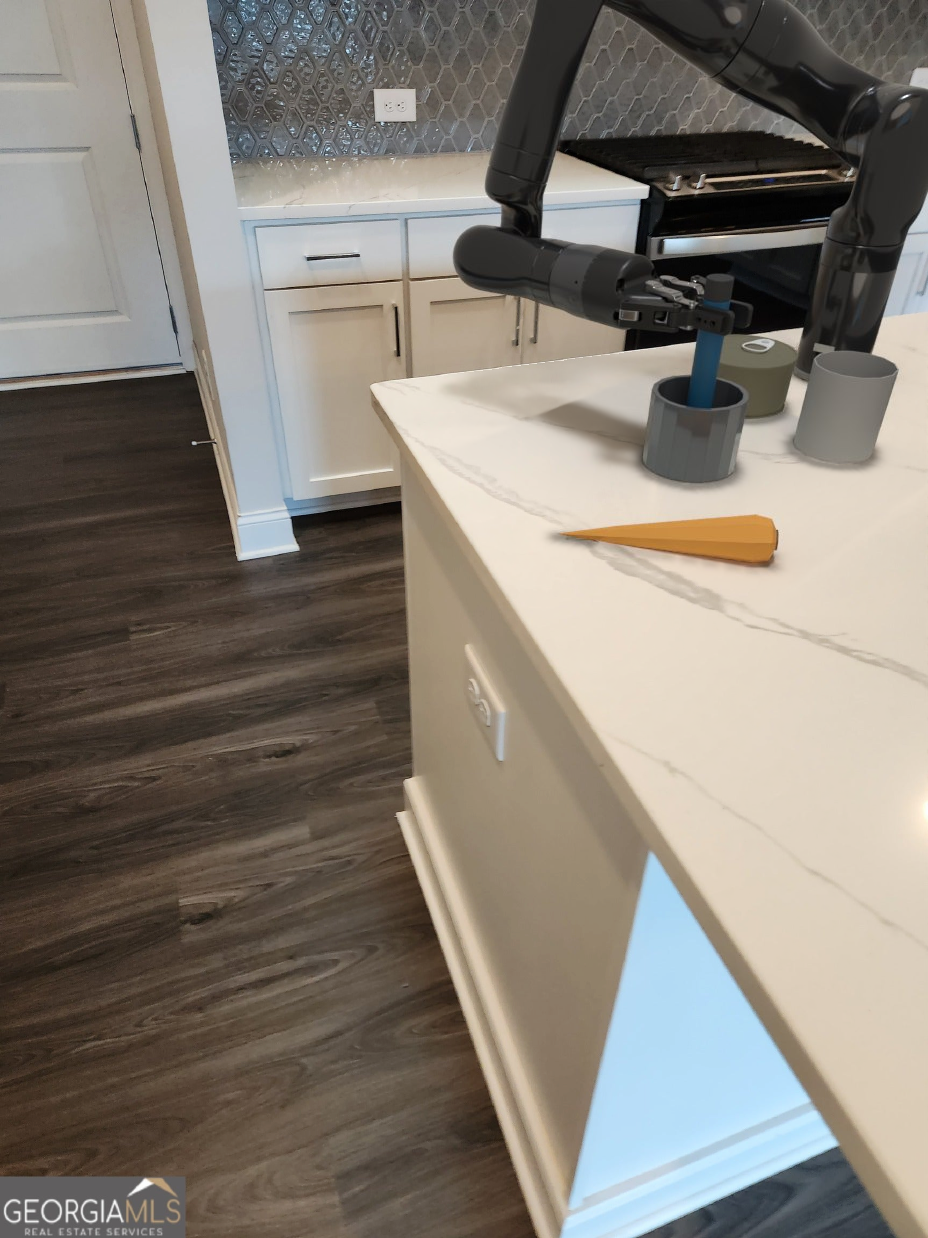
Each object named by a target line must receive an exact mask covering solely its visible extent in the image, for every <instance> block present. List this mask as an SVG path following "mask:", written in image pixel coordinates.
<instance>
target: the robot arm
mask: <svg viewBox="0 0 928 1238" xmlns="http://www.w3.org/2000/svg"><path fill="white" fill-rule="evenodd" d="M604 7H605V8H606V9H609V10H611V11H613V12H615V13H616V14H619V15H621V16H622V17H624V18H626V19H628V20H630V21H631V22H633V23H634V24H635V25H637V26H638V27H639V28H640V29H643V30H644V31H645V32H646V33H648V34H649V35H650V36H651V37H652V38H653V39H655V40H656V41H657V42H658V43H660V44H661V45H662V46H663V47H665V48H666V49H668V50H669V51H670V52H671V53H673V54H674V55H675V56H677V57H678V58H680V59H681V60H682V61H684V62H685V63H686V64H688V65H690V66H691V67H693V68H694V69H696V70H697V71H698V72H699V73H701V74H703V75H704V76H705V77H707V78H708V79H710V80H712V81H713V82H715V83H717V84H718V85H719V86H721V87H724V88H725V89H726V90H728V91H730V92H731V93H733V94H735V95H737V96H739V97H740V98H742V99H745V100H746V101H748V102H750V103H752V104H754V105H756V106H758V107H760V108H763V109H765V110H767V111H769V112H771V113H774V114H776V115H779V116H782V117H784V118H787V119H789V120H791V121H793V122H794V123H796V124H798V125H800V127H802V128H803V129H805V130H807V131H808V132H809V133H810V134H811V135H812V136H814V137H815V138H816V139H818V140H819V141H820V142H821V143H823V144H824V145H825V146H827V148H828V149H830V150H831V151H832V152H833V153H834V154H835V155H837V156H838V157H839V158H840V159H841V160H842V161H843V162H844V163H845V164H847V165H848V166H850V167H851V168H852V169H854V170H856V172H857V173H856V176H855V180H854V182H853V186H852V189H851V192H850V195H849V198H848V200H847V201H846V202H845V204H844V205H843V206H840V207H838V208H836V209H835V210H833V211H832V213H831V214H830V216H829V219H828V223H827V226H826V231H825V235H824V239H823V242H822V247H821V251H820V256H819V260H818V264H817V269H816V273H815V277H814V281H813V285H812V289H811V294H810V297H809V301H808V302H809V303H808V307H807V310H806V314H805V319H804V323H803V327H802V332H801V336H800V340H799V344H798V348H797V353H798V359H797V362H796V363H795V366H794V369H793V374H795V375H796V376H797V377H799V378H801V379H803V380H806V381H809V377H810V373H811V369H812V365H813V361H814V358H816V357H817V356H818V355H819V354H822V353H826V352H831V351H854V352H862V353H869V354H872V355H873V352H874V348H875V345H876V342H877V338H878V335H879V331H880V328H881V325H882V321H883V318H884V314H885V311H886V307H887V305H888V301H889V298H890V294H891V290H892V288H893V283H894V280H895V278H896V274H897V270H898V266H899V263H900V259H901V256H902V253H903V250H904V246H905V243H906V239H907V236H908V233H909V230H910V229H911V227H912V226H913V224H914V223H915V222H916V220H917V219H918V217H919V216H920V214H921V211H922V209H923V207H924V204H925V202H926V199H927V196H928V88H926V87H922V86H915V85H909V84H904V83H897V82H892V81H889V80H885V79H883V78H881V77H878V76H876V75H873V74H871V73H869V72H867V71H865V70H863V69H862V68H860V67H858V66H855V65H854V64H853V63H850V62H848V61H847V60H845V59H844V58H842V57H841V56H839V55H838V54H837V53H836V52H835V51H834V50H833V49H832V48H831V47H830V46H829V44H828V43H827V42H826V41H825V40H824V38H823V37H822V36H821V34H820V33H819V31H818V30H817V29H816V28H815V26H814V25H813V24H812V22H811V21H810V20H809V19H808V18H807V17H806V16H805V15H804V14H803V13H802V12H801V11H800V10H799V9H798V8H797V7H796V6H794V5H793V4H792V3H791V2H790V1H788V0H535V4H534V10H533V14H532V19H531V24H530V27H529V31H528V35H527V38H526V41H525V45H524V49H523V52H522V56H521V58H520V60H519V63H518V67H517V70H516V72H515V75H514V77H513V80H512V82H511V85H510V88H509V91H508V95H507V96H506V99H505V101H504V105H503V108H502V111H501V115H500V117H499V120H498V121H499V122H498V124H497V129H496V133H495V136H494V140H493V145H492V149H491V153H490V157H489V161H488V166H487V168H486V169H487V170H486V175H485V179H484V193H485V194H486V196H487V197H488V198H489V199H490V200H491V201H493V202H495V203H497V204H499V205H500V224H499V226H496V225H490V224H477V225H473V226H471V227H469V228H466V230H464V231H463V232H462V233H461V234H460V235H459V236H458V238H457V239H456V241H455V243H454V246H453V250H452V264H453V268H454V270H455V272H456V274H457V276H458V278H459V279H460V280H461V281H462V282H463V283H464V284H465V285H466V286H468V287H469V288H472V289H474V290H478V291H481V292H486V293H492V294H498V295H503V296H504V295H505V296H510V297H517V298H523V299H525V300H529V301H532V302H535V303H538V304H540V305H543V306H546V307H550V308H554V309H556V310H560V311H563V312H565V313H567V314H569V315H571V316H573V317H577V318H579V319H583V320H586V321H589V322H593V323H597V324H600V325H603V326H607V327H610V328H613V329H617V330H620V331H621V330H622V331H627V330H628V331H629V330H631V329H635V330H644V331H654V332H661V333H662V332H663V333H670V334H674V333H678V332H679V329H682V330H685V331H692V330H698V329H699V330H703V331H707V332H710V333H714V334H718V335H721V336H726V335H729V334H733V329H734V327H735V328H738V329H746V328H747V327H750V325H751V323H752V318H753V312H754V305H752V304H751V303H748V302H743V301H739V300H734V299H730V300H731V301H730V306H729V310H725V309H721V308H717V307H713V306H708V305H705V304H702V302H703V296H704V289H705V283H706V277H703V276H700V275H698V274H697V275H692V276H691V277H690V282H689V281H685V280H680V279H679V278H677V277H676V276H671V275H660V276H658V274H657V272H656V269H655V266H654V263H653V262H652V261H651V259H649V257H648V256H645V255H643V254H638V253H633V252H629V251H625V250H620V249H615V248H612V247H611V248H610V247H606V246H601V245H597V244H585V243H584V244H582V243H576V242H571V241H566V240H562V239H557V238H549V237H542V235H543V234H542V232H543V219H544V195H545V191H546V188H547V185H548V184H547V183H548V181H549V178H550V175H551V171H552V167H553V164H554V160H555V157H556V153H557V150H558V147H559V146H558V145H559V142H560V138H561V134H562V131H563V127H564V124H565V120H566V116H567V113H568V109H569V105H570V102H571V98H572V96H573V92H574V88H575V85H576V82H577V78H578V76H579V72H580V69H581V66H582V63H583V60H584V57H585V54H586V51H587V48H588V45H589V42H590V40H591V37H592V35H593V32H594V30H595V27H596V24H597V22H598V19H599V16H600V14H601V12H602V10H603V8H604Z"/></svg>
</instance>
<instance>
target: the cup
mask: <svg viewBox="0 0 928 1238" xmlns="http://www.w3.org/2000/svg"><path fill="white" fill-rule="evenodd" d="M899 371H900V369H899V367H898V366H897V364H896V363H895V362H893V361H891V360H889V359H887V358H885V357H882V356H879V355H876V354H873V353H872V354H869V353H862V352H854V351H831V352H826V353H822V354H819V355H818V356H817V357H816V358H814V361H813V365H812V369H811V373H810V377H809V380H807V381H808V382H807V386H806V388H805V389H806V390H805V393H804V397H803V400H802V401H803V402H802V406H801V410H800V414H799V418H798V421H797V425H796V428H795V429H796V430H795V432H794V437H793V444H794V448H795V449H797V451H799V452H800V453H801V454H803V455H804V456H807V457H810V458H812V459H814V460H817V461H819V462H826V463H832V464H839V465H841V464H843V465H844V464H846V465H847V464H858V463H862V462H865V461H868V460H869V459H870V458H871V456H872V455H873V454H874V450H875V447H876V443H877V441H878V438H879V434H880V431H881V428H882V425H883V421H884V418H885V415H886V413H887V410H888V406H889V403H890V400H891V396H892V394H893V390H894V387H895V383H896V381H897V378H898V374H899Z"/></svg>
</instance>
